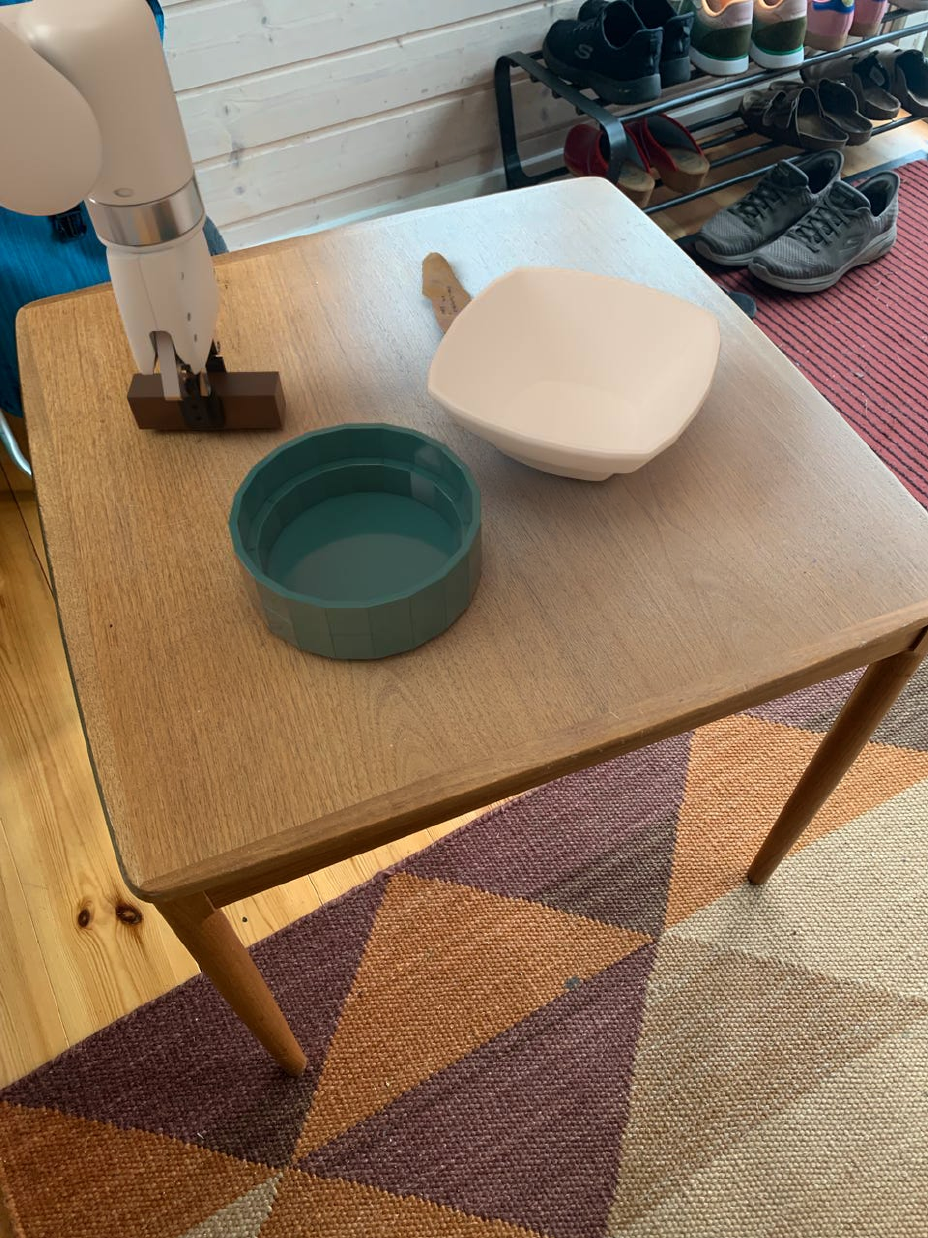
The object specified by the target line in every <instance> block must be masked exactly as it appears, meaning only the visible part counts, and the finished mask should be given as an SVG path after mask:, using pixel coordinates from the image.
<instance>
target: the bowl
mask: <svg viewBox="0 0 928 1238" xmlns="http://www.w3.org/2000/svg"><path fill="white" fill-rule="evenodd" d="M722 345H723V341H722V335H721V329H720V324H719V320H718V318H717V316H716V315H715V314H714V313H711V312H710V311H708V310H706V309H704V308H702V307H701V306H698V305H697V304H695V303H694V302H692V301H689V300H687V299H686V298H685V299H684V298H682V297H680V296H676V295H674V294H671V293H669V292H666V291H663V290H660V289H658V288H654V287H650V286H647V285H643V284H641V283H637V282H634V281H631V280H627V279H624V278H620V277H614V276H609V275H604V274H599V273H594V272H590V271H586V270H585V271H584V270H579V269H571V268H565V267H564V268H563V267H556V266H531V265H529V266H528V265H527V266H526V265H525V266H524V265H521V266H516V267H514V268H512V269H511V270H509V271H507V272H505V273H503V274H502V275H500V276H498V277H497V278H495V279H493V280H492V281H491V282H490V283H489V284H488V285H487V286H485V287H484V288H483V289H482V290H481V291H480V292H479V293H477V294H476V295H475V297H473V298H471V302H470V303H469V304H468V305H467V306H466V307H465V308H464V309H463V310H462V311H461V313H460V314H459V315H458V316H457V317H456V318H455V319H454V321H453V323H452V324H451V326H450V327H449V329H448V331H447V332H446V334H445V333H444V335H443V337H442V339H441V340H440V342H439V344H438V347H437V349H436V351H435V353H434V355H433V357H432V359H431V362H430V364H429V365H428V376H427V382H426V383H427V384H426V389H427V390H426V391H427V395H428V396H429V397H430V399H431V400H432V401H434V403H435V404H436V405H438V406H439V407H440V409H442V410H443V411H444V413H445V414H447V415H448V416H449V417H450V418H451V419H452V421H454V422H455V423H457V425H459V426H460V427H462V428H463V429H465V430H466V431H467V432H469V433H470V434H472V435H474V436H476V437H478V438H480V439H482V440H484V441H485V442H488V443H490V444H492V445H493V446H494V447H495V448H496V449H497V450H498V451H499V452H501V453H502V454H504V455H505V456H508V457H510V458H511V459H513V460H515V461H518V462H519V463H521V464H524V465H525V466H529V467H531V468H532V469H536V470H538V471H541V472H544V473H548V474H551V475H554V476H555V475H556V476H559V477H565V478H572V479H578V480H584V481H590V482H602V481H605V480H607V479H608V478H609V477H611V476H612V475H613V474H630V473H634V472H635V471H637V470H639V469H641V468H642V467H643V466H644V465H646V464H647V463H649V462H650V461H651V460H652V459H654V458H655V457H656V456H658V455H659V454H660V453H662V452H663V451H665V450H666V449H667V448H668V447H670V446H671V445H673V444H674V443H675V442H677V440H678V439H679V438H680V436H681V435H682V434H683V432H684V431H685V430H686V429H687V427H689V426H690V424H691V422H692V421H693V420H694V419H695V417H696V416H697V415H698V413H699V411H700V409H701V407H702V406H703V405H704V403H705V401H706V400H707V398H708V396H709V394H710V392H711V388H712V387H713V383H714V380H715V378H716V377H715V376H716V374H717V370H718V367H719V360H720V357H721V349H722Z"/></svg>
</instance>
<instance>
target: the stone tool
mask: <svg viewBox="0 0 928 1238" xmlns="http://www.w3.org/2000/svg"><path fill="white" fill-rule="evenodd" d="M421 266H422V267H421V270H422V271H421V272H422V273H421V278H422V284H421V285H422V286H421V289H422V290H421V294H422V295H423V296H424V297H426V298H427V299H429V301H430V302H431V306H432V309H433V312H434V315H435V316H434V317H435V319H436V321H437V324H438V326H439V327H440V329H441V330H442V332H443V333H444V335H445V334H446V332H447V331H448V329H449V327H450V326H451V324H452V323H453V321H454V319H455V318H456V317H457V316H458V315H459V314H460V313H461V311H462V310H463V309H464V308H465V307H466V306H467V305H468V304H469V303H470V302H471V300H472V298H471V297H472V296H471V294H469V292H467V291H466V289H464V287H463V286H462V284H461V283H460V281H459V279H458V278H457V276H456V275H455V274H456V273H455V272H454V271H453V268H452V267H451V265H450V263H449V262H448V260H447V259H446V258H445V257H444V255H442V254H441V253H439V252H437V251H434V252H429V253H428V254H427V255H426V256H425V258H423V260H422V262H421Z"/></svg>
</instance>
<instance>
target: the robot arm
mask: <svg viewBox="0 0 928 1238" xmlns="http://www.w3.org/2000/svg"><path fill="white" fill-rule="evenodd" d="M176 96H177V95H176V93H175V89H174V84H173V81H172V77H171V74H170V70H169V67H168V62H167V58H166V53H165V50H164V45H163V41H162V38H161V35H160V30H159V28H158V23H157V21H156V17H155V14H154V13H153V11H152V8H151V6H150V5H149V4H148V1H147V0H30V1H25V2H21V3H16V4H9V5H0V207H3V208H5V209H7V210H9V211H13V212H16V213H19V214H22V215H28V216H36V217H37V216H38V217H39V216H40V217H41V216H53V215H58V214H61V213H65V212H66V211H67V212H68V211H69V210H72V209H73V208H75V207H77V206H78V205H79V204H81V203H82V202H83V201H84V204H85V208H86V210H87V213H88V215H89V218H90V221H91V224H92V226H93V228H94V232H95V235H96V237H97V239H98V240H99V242H100V243H102V244H103V245H104V246H106V250H105V251H106V252H105V254H106V261H107V266H108V271H109V276H110V280H111V285H112V288H113V289H112V290H113V293H114V296H115V300H116V304H117V308H118V312H119V315H120V318H121V321H122V324H123V328H124V330H125V334H126V337H127V340H128V343H129V346H130V350H131V352H132V356H133V359H134V362H135V365H136V367H137V369H138V371H139V373H142V374H143V375H153V373H155V369H156V366H157V363H158V364H159V370H160V371H159V372H160V373H161V377H162V384H163V390H164V396H165V399H166V401H173V400H177V402H178V405H179V408H180V411H181V414H182V417H183V420H184V422H185V425H186V427H187V428H188V429H187V430H191V431H201V430H202V431H204V430H206V431H209V430H210V431H211V430H215V431H216V430H225V428H224V427H225V423H226V422H225V418H224V415H223V411H222V408H221V405H220V401H219V398H218V395H217V391H216V388H215V387H210V383H209V379H208V375H207V372H228V370H227V367H226V364H225V359H224V356H222V355H221V352H222V349H221V347H222V346H221V342H220V338H219V335H218V333H217V329H216V328H217V323H218V319H219V315H220V310H221V293H220V286H219V282H218V277H217V274H216V270H215V266H214V262H213V259H212V255H211V252H210V248H209V245H208V243H207V239H206V236H205V233H204V229H203V228H204V226H205V223H206V220H207V212H206V208H205V205H204V201H203V197H202V193H201V189H200V185H199V181H198V178H197V174H196V169H195V166H194V163H193V157H192V154H191V151H190V146H189V143H188V139H187V136H186V132H185V128H184V124H183V121H182V120H183V119H182V116H181V111H180V109H179V104H178V100H177V97H176ZM220 355H221V356H220ZM183 371H185V373H194V374H195V375H196V378H197V379H195V378H183V375H182V373H183Z"/></svg>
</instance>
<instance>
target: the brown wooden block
mask: <svg viewBox="0 0 928 1238" xmlns="http://www.w3.org/2000/svg"><path fill="white" fill-rule="evenodd" d="M182 375H183V378H195V379H197V378H196V375H195V374H194V373H186V372H182ZM207 375H208V379H209V383H210V387H215V388H216V391H217V395H218V398H219V401H220V405H221V408H222V411H223V415H224V418H225V422H226V423H225V427H224V429H279V428H283V425H284V418H285V413H286V406H287V402H286V398H285V393H284V389H283V384H282V378H281V376H280V375H281V374H280V371H278V370H277V371H276V370H273V371H271V370H269V371H265V370H264V371H227V372H207ZM125 398H126V401H127V403H128V405H129V408H130V410H131V413H132V415H133V418H134V420H135V423H136V425H137V428H138V430H140V431H141V430H144V431H145V430H146V431H147V430H148V431H149V430H189V429H188V428H187V427H186V425H185V422H184V420H183V417H182V414H181V411H180V408H179V405H178V402H177V400H173V401H166V399H165V396H164V390H163V384H162V377H161V372H154V373H153V375H143V374H142V373H141V372H138V373H133V374H132V379H131V381H130V384H129V387H128V391H127V393H126V397H125Z"/></svg>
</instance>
